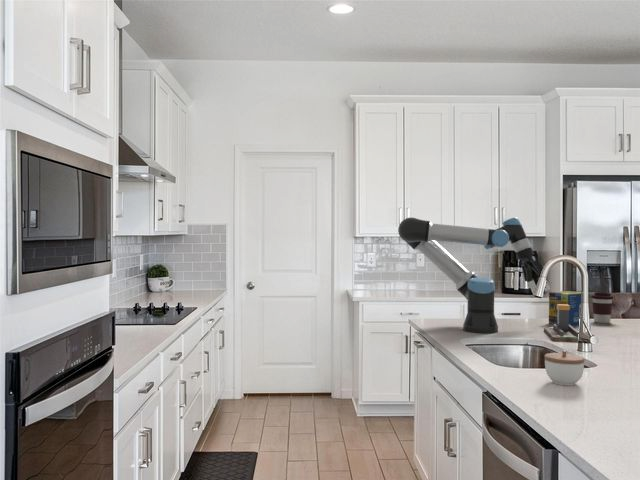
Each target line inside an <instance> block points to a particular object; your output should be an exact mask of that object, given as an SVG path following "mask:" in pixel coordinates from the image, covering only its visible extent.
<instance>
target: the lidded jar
mask: <svg viewBox="0 0 640 480" xmlns="http://www.w3.org/2000/svg"><path fill="white" fill-rule="evenodd" d="M544 366H545V367H544V368H545V373H546V375H547V376H548V378H549V379H550V380H551V381H552V383H553V384H556V385H559V386H565V387H566V386H568V387H571V386H575V385H576V384H577V383H578V382H579V381H580V380H581V378H582V377H583V374H584V369H585V357H584V356H582V355H579V354H574V353H567V350H562V351H561V352H550V353H549V352H547V353H545V354H544Z"/></svg>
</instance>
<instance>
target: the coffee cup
mask: <svg viewBox="0 0 640 480" xmlns="http://www.w3.org/2000/svg"><path fill="white" fill-rule="evenodd" d="M590 297H591V299H592V314H593V322H594V323H597V324H609V322H610V323H611V316H612V311H613V309H612V308H613V300H614V296H613V295H611V292H610V291H609V292H608V291H594V293H593V294H591V296H590Z"/></svg>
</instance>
